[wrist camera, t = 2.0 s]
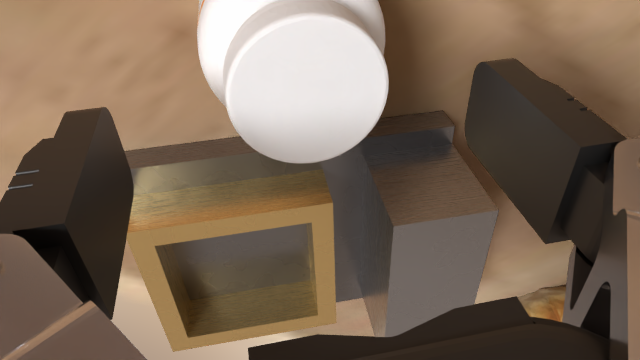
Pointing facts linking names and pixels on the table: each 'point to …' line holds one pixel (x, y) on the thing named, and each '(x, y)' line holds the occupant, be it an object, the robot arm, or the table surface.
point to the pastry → (545, 303)
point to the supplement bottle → (296, 72)
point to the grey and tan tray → (308, 233)
